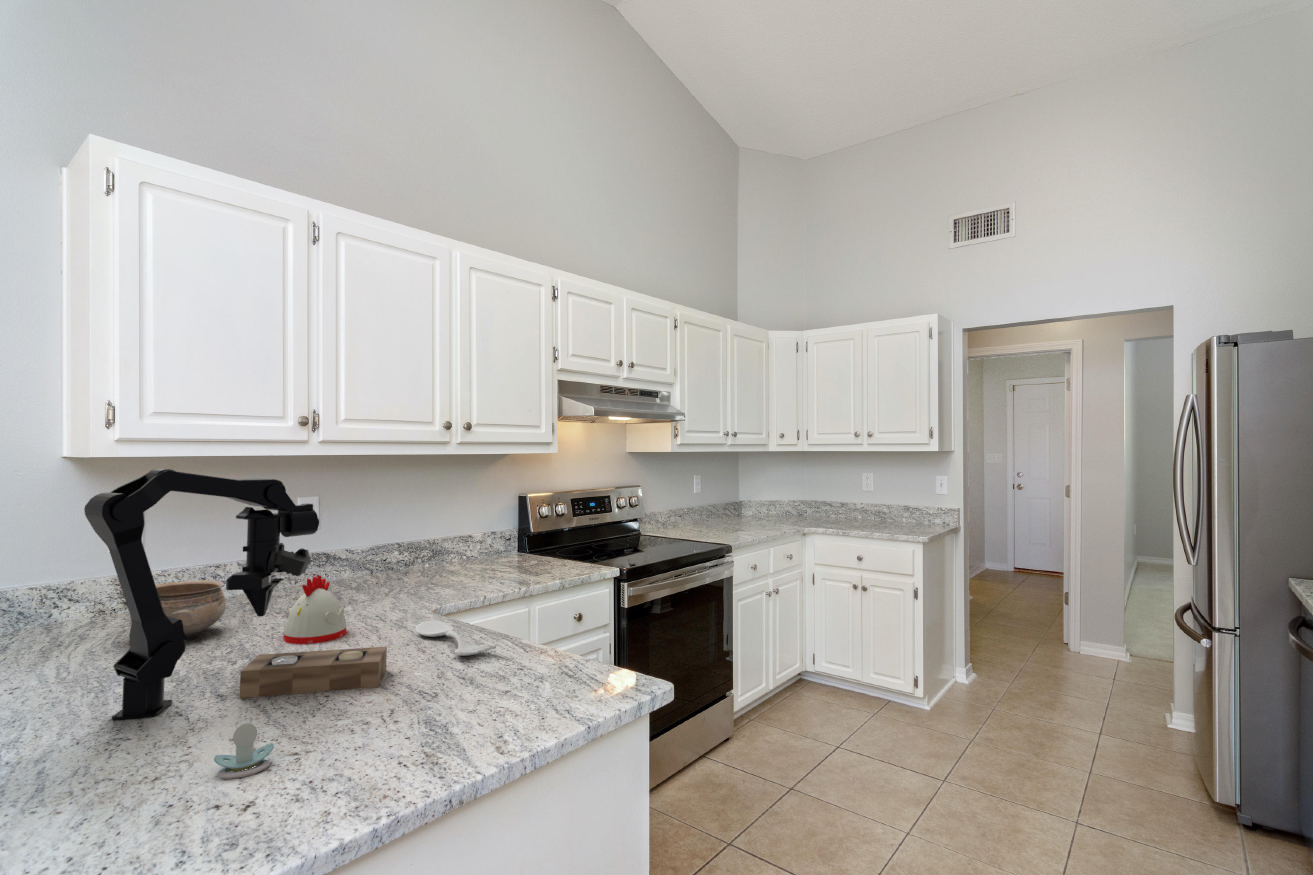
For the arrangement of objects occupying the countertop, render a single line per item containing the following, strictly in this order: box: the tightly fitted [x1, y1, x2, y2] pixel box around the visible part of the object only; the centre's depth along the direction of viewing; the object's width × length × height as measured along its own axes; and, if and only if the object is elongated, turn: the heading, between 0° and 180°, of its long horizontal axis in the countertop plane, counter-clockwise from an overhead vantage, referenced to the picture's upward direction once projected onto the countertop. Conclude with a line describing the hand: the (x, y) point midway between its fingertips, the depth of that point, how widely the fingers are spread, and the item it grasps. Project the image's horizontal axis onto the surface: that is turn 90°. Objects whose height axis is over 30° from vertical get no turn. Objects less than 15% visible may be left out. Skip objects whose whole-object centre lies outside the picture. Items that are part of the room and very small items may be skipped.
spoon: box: [415, 620, 497, 657], centre depth 152 cm, size 9×32×4 cm, turn 40°
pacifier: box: [213, 722, 274, 780], centre depth 91 cm, size 7×6×6 cm
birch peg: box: [339, 651, 363, 660], centre depth 127 cm, size 4×4×5 cm
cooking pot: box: [129, 579, 227, 639], centre depth 155 cm, size 25×19×12 cm
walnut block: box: [239, 646, 388, 699], centre depth 125 cm, size 10×24×5 cm, turn 105°
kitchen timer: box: [283, 574, 347, 645], centre depth 158 cm, size 14×14×15 cm
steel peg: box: [272, 656, 298, 665], centre depth 124 cm, size 4×4×5 cm
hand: (261, 615), depth 129 cm, fingers closed
